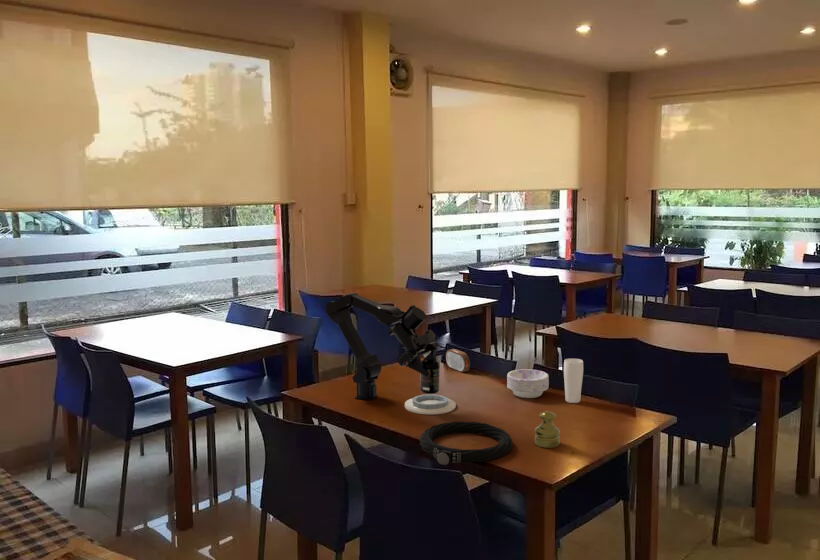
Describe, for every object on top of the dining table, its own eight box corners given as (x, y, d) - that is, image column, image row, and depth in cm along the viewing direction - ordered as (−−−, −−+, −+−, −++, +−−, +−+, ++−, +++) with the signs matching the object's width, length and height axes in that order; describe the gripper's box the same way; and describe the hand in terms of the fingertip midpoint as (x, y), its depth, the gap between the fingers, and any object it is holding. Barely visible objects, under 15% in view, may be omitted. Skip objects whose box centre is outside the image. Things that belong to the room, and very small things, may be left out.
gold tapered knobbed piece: (530, 445, 205) (531, 412, 204) (540, 437, 211) (540, 406, 210) (554, 450, 201) (554, 417, 200) (563, 442, 207) (564, 410, 206)
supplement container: (442, 389, 240) (442, 360, 238) (436, 395, 233) (436, 365, 232) (423, 387, 242) (424, 358, 241) (417, 393, 236) (417, 363, 234)
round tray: (396, 410, 238) (396, 403, 238) (416, 396, 255) (416, 389, 254) (444, 417, 231) (444, 410, 231) (462, 402, 247) (462, 395, 247)
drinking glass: (562, 403, 245) (563, 362, 243) (563, 398, 251) (564, 357, 249) (581, 405, 243) (582, 363, 241) (582, 399, 249) (584, 359, 247)
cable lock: (525, 427, 210) (489, 461, 184) (524, 439, 211) (489, 475, 185) (442, 414, 223) (398, 444, 197) (442, 426, 224) (398, 457, 197)
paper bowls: (506, 399, 250) (506, 378, 249) (507, 388, 265) (507, 368, 264) (548, 401, 247) (549, 380, 246) (548, 389, 262) (548, 369, 261)
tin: (470, 373, 287) (470, 353, 285) (464, 374, 285) (464, 354, 284) (450, 365, 299) (450, 346, 298) (444, 366, 298) (444, 347, 297)
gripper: (405, 328, 229) (433, 365, 224) (435, 319, 244) (461, 354, 240) (386, 347, 235) (412, 384, 230) (416, 338, 250) (442, 372, 245)
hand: (433, 373), depth 236 cm, fingers closed on supplement container, 7 cm apart
